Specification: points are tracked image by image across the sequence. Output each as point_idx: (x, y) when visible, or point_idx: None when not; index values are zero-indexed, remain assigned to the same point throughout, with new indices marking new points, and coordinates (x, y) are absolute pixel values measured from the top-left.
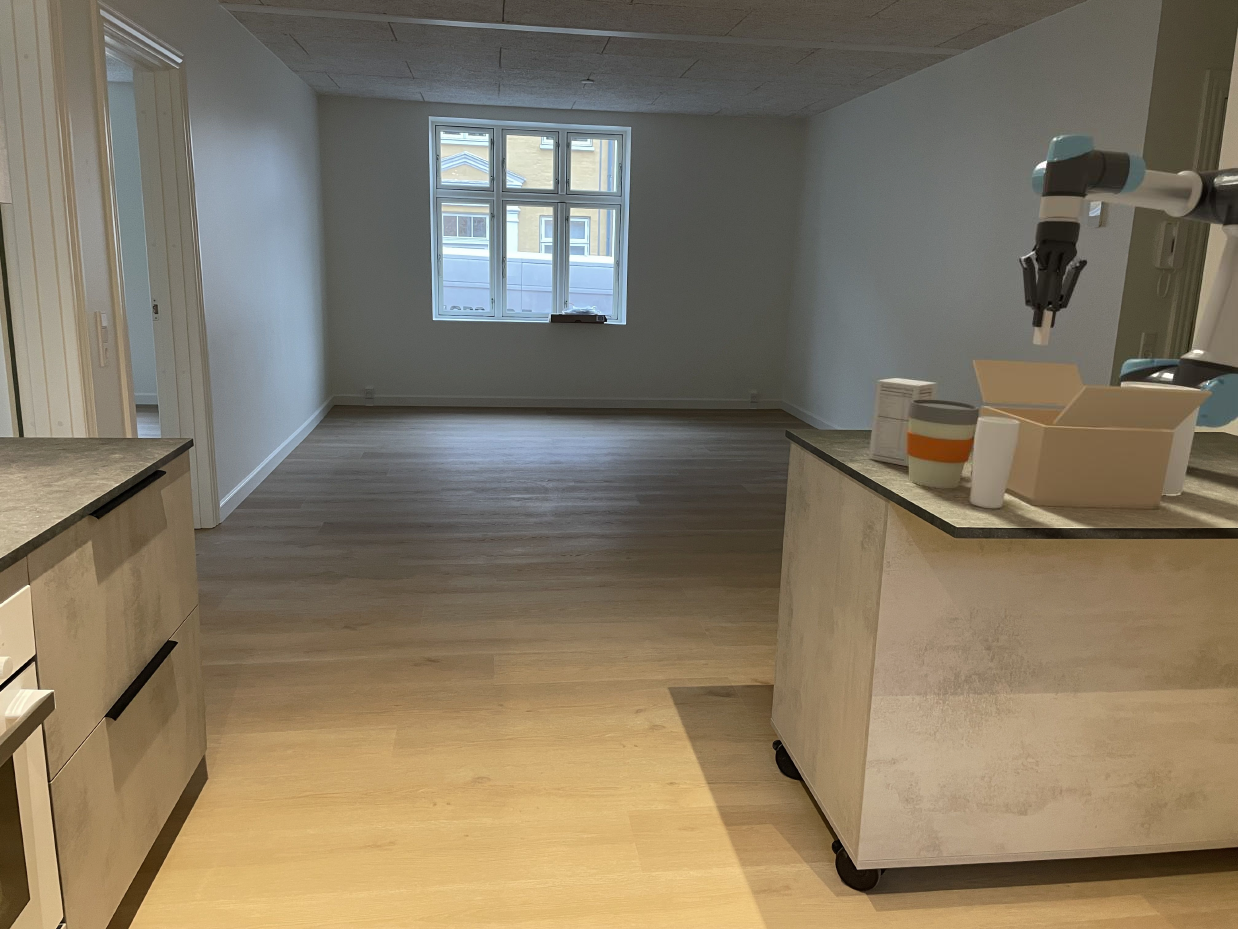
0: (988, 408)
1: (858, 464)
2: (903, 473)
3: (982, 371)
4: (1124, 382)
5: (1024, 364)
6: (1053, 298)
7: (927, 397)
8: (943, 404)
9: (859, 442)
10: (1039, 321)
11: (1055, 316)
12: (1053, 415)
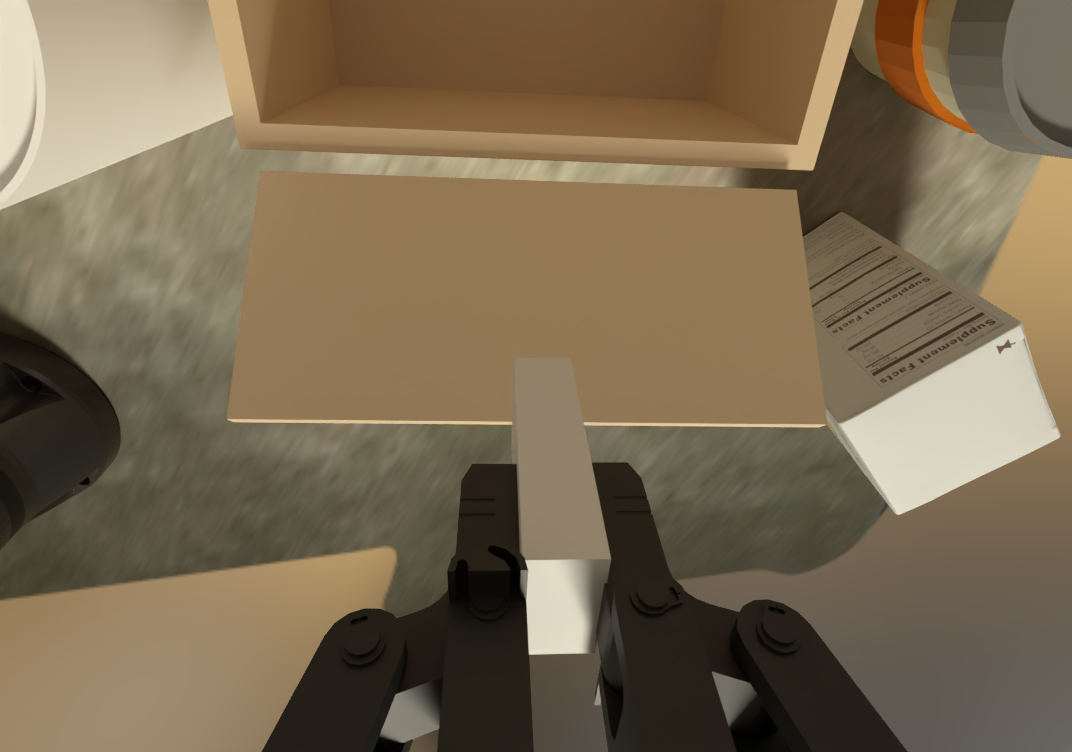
0: (834, 96)
1: (974, 228)
2: (925, 122)
3: (790, 347)
4: (4, 190)
5: None
6: (530, 734)
7: (894, 345)
8: (1044, 116)
9: (763, 475)
10: (615, 501)
11: (459, 543)
12: (472, 127)
